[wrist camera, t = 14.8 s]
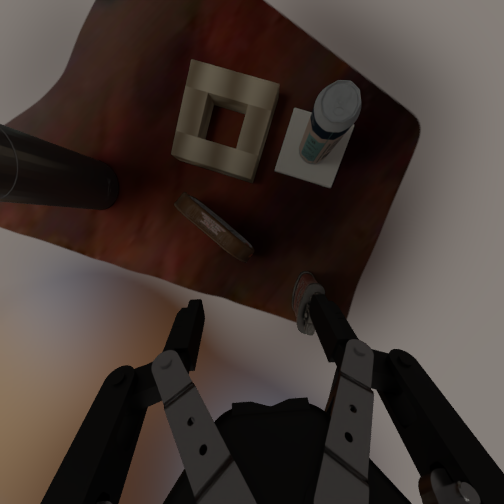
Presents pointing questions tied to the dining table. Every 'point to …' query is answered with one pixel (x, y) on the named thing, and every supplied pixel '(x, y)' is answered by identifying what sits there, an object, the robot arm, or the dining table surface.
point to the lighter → (305, 300)
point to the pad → (296, 165)
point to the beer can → (330, 120)
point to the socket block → (233, 98)
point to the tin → (214, 227)
